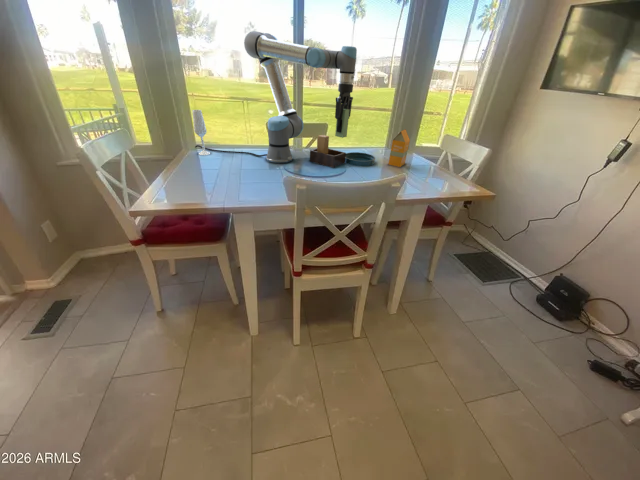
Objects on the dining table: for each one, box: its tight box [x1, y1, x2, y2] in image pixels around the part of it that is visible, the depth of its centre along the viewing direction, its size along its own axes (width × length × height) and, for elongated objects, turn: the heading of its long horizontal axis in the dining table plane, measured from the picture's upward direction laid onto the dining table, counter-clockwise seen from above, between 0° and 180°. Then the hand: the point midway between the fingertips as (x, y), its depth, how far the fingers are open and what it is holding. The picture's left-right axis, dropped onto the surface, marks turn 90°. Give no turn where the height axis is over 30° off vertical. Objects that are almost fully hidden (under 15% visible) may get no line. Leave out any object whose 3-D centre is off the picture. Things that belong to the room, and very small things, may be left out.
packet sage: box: [334, 109, 350, 139], centre depth 149 cm, size 5×4×14 cm
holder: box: [309, 147, 347, 169], centre depth 161 cm, size 18×12×7 cm, turn 52°
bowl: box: [344, 151, 376, 167], centre depth 165 cm, size 19×19×4 cm
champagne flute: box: [191, 109, 211, 156], centre depth 159 cm, size 7×7×24 cm
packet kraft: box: [316, 134, 330, 154], centre depth 160 cm, size 5×4×14 cm
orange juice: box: [387, 129, 411, 168], centre depth 160 cm, size 8×9×20 cm
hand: (341, 131), depth 151 cm, fingers closed on packet sage, 4 cm apart
